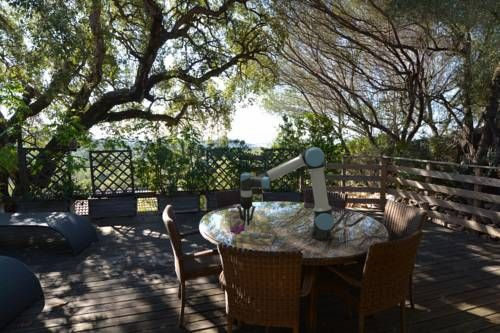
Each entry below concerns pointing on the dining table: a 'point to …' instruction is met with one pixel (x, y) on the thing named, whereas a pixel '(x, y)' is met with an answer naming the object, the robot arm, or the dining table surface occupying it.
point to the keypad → (255, 239)
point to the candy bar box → (236, 221)
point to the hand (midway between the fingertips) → (246, 229)
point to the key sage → (246, 234)
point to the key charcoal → (266, 236)
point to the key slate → (255, 234)
